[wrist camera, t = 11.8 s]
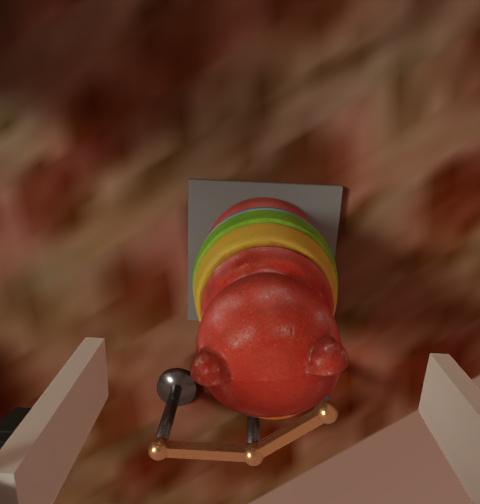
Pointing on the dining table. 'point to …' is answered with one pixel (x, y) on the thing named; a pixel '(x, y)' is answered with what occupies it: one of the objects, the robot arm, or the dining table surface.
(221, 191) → the mat
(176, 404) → the miniature post railing
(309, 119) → the dining table surface
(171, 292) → the dining table surface
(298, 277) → the stacking bear
